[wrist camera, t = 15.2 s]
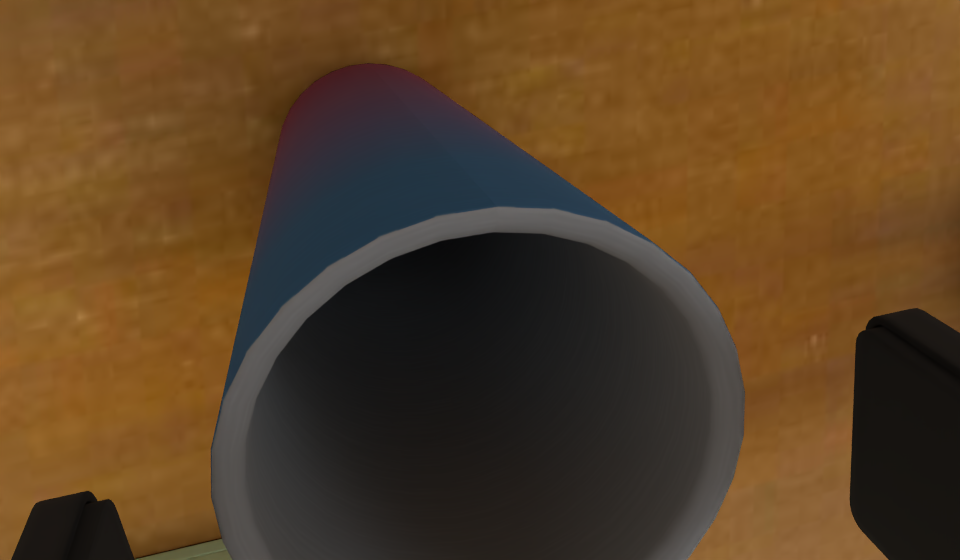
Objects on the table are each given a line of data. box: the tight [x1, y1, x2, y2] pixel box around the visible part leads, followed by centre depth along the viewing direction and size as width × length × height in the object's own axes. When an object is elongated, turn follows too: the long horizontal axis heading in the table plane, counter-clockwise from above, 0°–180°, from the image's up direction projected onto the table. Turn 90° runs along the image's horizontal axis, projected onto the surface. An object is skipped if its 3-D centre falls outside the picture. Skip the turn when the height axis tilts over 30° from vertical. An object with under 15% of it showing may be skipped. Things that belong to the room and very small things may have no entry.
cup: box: [211, 63, 745, 560], centre depth 18 cm, size 7×7×15 cm
